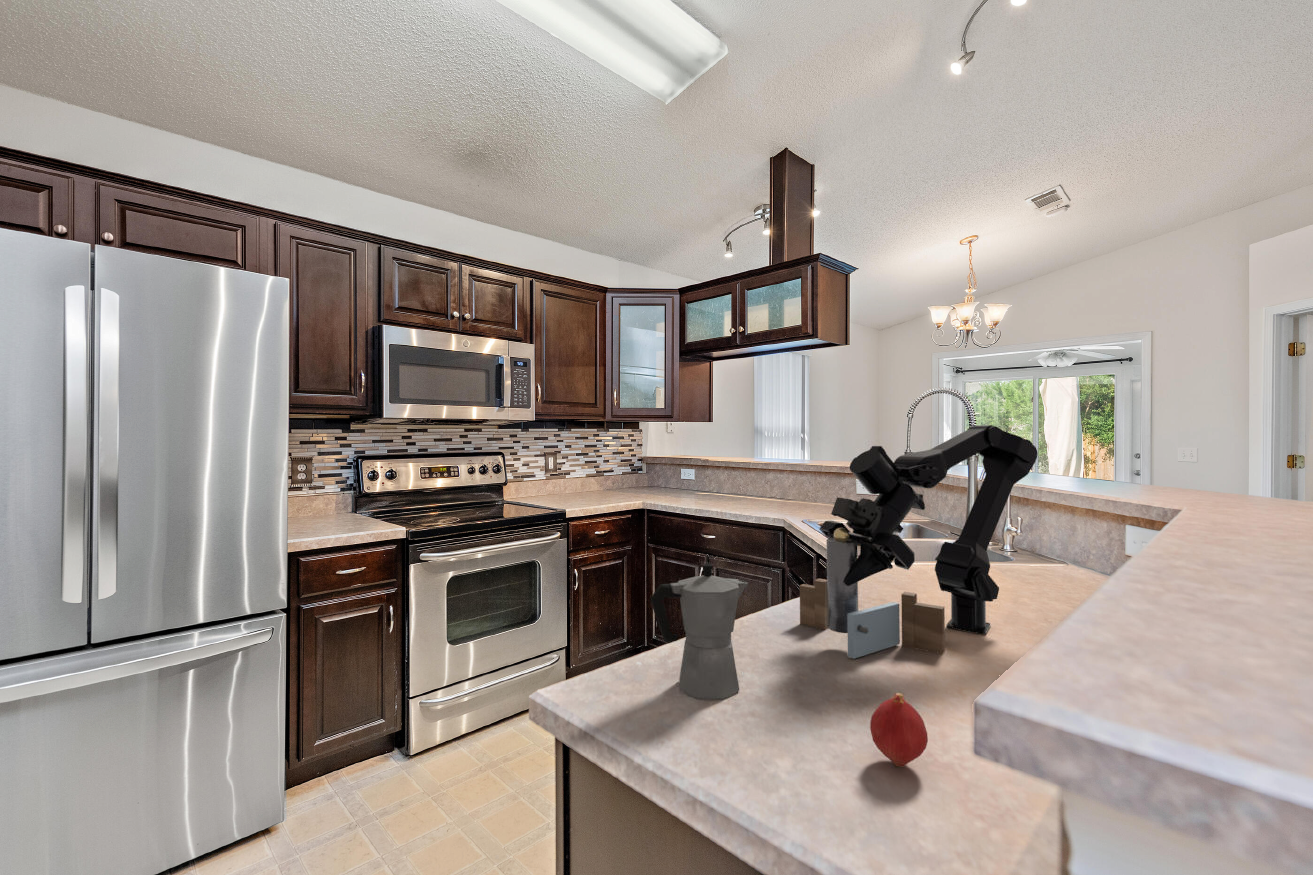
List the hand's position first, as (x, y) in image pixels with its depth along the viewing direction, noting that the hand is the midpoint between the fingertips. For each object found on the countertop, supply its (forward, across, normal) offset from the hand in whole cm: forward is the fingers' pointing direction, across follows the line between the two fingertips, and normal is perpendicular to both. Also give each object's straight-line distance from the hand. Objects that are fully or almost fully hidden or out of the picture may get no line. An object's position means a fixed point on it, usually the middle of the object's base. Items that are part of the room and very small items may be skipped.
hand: (835, 580), depth 96 cm
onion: (+19, +31, -2) cm, 36 cm away
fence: (+2, -4, +15) cm, 15 cm away
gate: (+4, +3, +12) cm, 13 cm away
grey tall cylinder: (+5, 0, +7) cm, 8 cm away
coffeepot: (+28, +6, -11) cm, 30 cm away
